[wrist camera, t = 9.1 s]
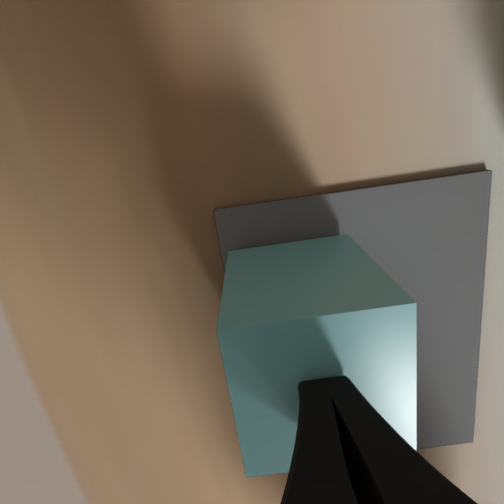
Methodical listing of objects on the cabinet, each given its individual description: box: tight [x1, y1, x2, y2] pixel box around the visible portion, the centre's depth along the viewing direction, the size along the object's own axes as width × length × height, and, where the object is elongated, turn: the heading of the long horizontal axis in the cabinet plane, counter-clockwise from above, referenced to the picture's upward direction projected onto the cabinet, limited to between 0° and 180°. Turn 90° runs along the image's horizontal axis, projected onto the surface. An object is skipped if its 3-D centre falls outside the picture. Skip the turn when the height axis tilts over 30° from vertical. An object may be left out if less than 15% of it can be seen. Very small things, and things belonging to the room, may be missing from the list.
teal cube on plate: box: [217, 234, 417, 478], centre depth 13 cm, size 5×5×7 cm
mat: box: [214, 170, 492, 449], centre depth 18 cm, size 15×12×1 cm
